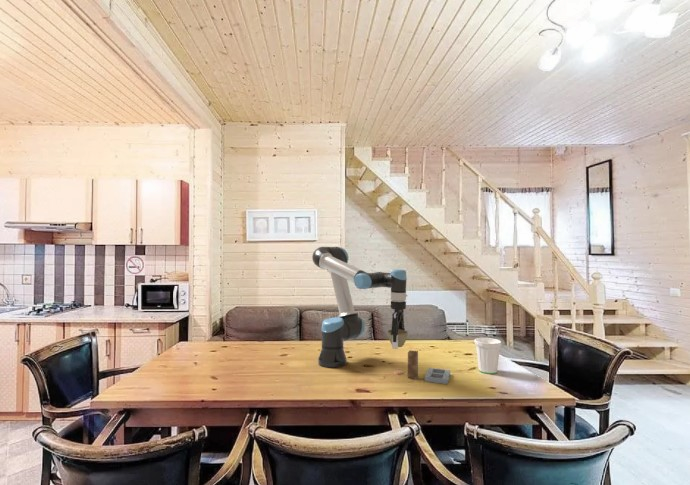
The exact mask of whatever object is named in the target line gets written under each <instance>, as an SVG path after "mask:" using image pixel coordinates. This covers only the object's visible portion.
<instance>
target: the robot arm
mask: <svg viewBox="0 0 690 485" xmlns="http://www.w3.org/2000/svg"><path fill="white" fill-rule="evenodd" d="M311 259H312V262H313V264H314V265H315V266H316V267H318V268H320V269H321V270H327V272H328V273H329V274H330V278H331V282H332V285H333V286H332V287H333V289H334V294H335V300H336V304H337V307H338V308H337V309H338V313H339V314H338V315H337V316H334V317H329V318H326V319H324V320H322V322H321V329H320V330H321V349H320V352H319V355H318V360H317V362H318V363H317V364H318V365H319V366H321V367H324V368H340V367H345V366H346V365H347V363H348V362H347V360H348V358H347V357H346V356H347V355H346V353H345V349H344V342H346V341H350V340H355V339H358V338H361V337H362V335H363V334H364V332H365V329H366V328H365V321H364V319H363V318H362V317H360V316H359V314H358V311H356V310H355V308H354V303H353V299H352V295H351V292H350V287H349V286H350V285H349V282H351V283H353V284H354V286H355V288H357V289H359V290H367V289H376V288H378V289H379V288H389V289H390V300H391V301H390V309H391V310H394V312H393V313H392V314H391V315H392V317H391V318H392V319H391V329H390V330H391V335H392V344H391V349H395V350H398V349H399V347H398V329H399V330H405V319H404V316H405V315H404V312H405V311H404V310H406V309H407V297H408V294H407V271H406V270H405V269H399V268H397V269H394V268H393V269H391V272H385V271H384V272H382V271H375V272H367V271H364V270H362V269H360V268H358V267H356V266H353V265H351V264H350V263H348V262H349V253H348V252H347V250H346V249H344V248H343V247H342V246H341V247H340V246H319V247H317V248H316V249H315V250H314V251H313V253H312V258H311ZM348 281H349V282H348ZM405 331H406V330H405Z"/></svg>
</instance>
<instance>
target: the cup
mask: <svg viewBox="0 0 690 485" xmlns="http://www.w3.org/2000/svg"><path fill="white" fill-rule="evenodd" d="M474 344H475V347H476V348H475V349H476V356H477V364H478V371H479V372H480V373H482V374H486V375H495V374H497V373H498V368H499V367H498V366H499V357H500V351H501V349H500V348H501V346H502V341H501V340H500V339H498V338H490V337H476V338H474Z"/></svg>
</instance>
